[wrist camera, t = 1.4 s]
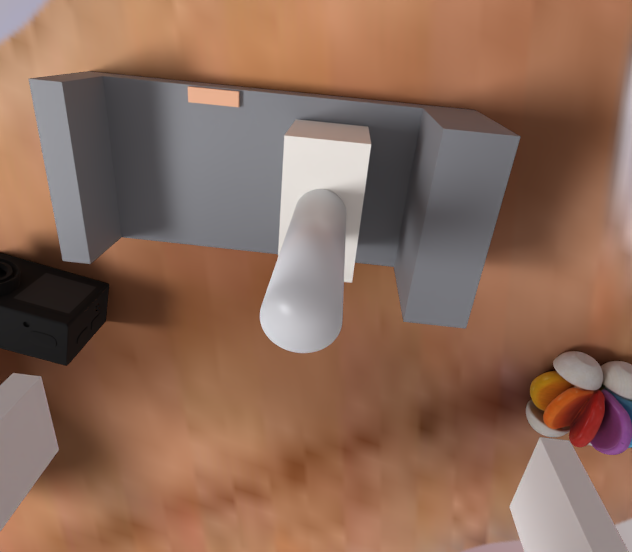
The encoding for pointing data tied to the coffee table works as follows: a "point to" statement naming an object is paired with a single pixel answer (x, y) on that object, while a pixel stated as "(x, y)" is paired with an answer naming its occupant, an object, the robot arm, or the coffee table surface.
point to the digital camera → (48, 310)
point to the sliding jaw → (316, 233)
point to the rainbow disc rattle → (584, 402)
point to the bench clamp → (270, 176)
